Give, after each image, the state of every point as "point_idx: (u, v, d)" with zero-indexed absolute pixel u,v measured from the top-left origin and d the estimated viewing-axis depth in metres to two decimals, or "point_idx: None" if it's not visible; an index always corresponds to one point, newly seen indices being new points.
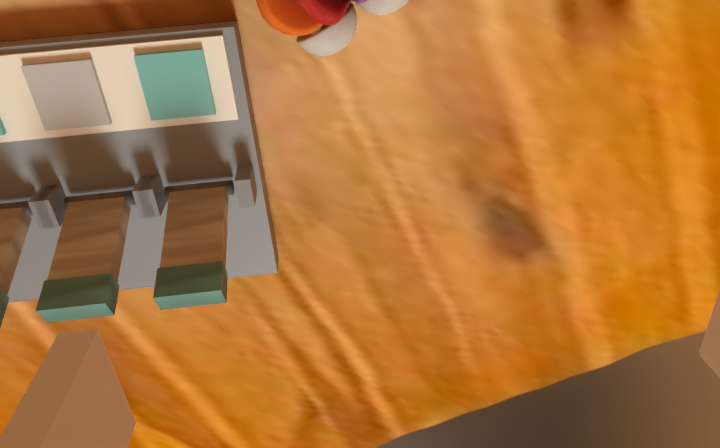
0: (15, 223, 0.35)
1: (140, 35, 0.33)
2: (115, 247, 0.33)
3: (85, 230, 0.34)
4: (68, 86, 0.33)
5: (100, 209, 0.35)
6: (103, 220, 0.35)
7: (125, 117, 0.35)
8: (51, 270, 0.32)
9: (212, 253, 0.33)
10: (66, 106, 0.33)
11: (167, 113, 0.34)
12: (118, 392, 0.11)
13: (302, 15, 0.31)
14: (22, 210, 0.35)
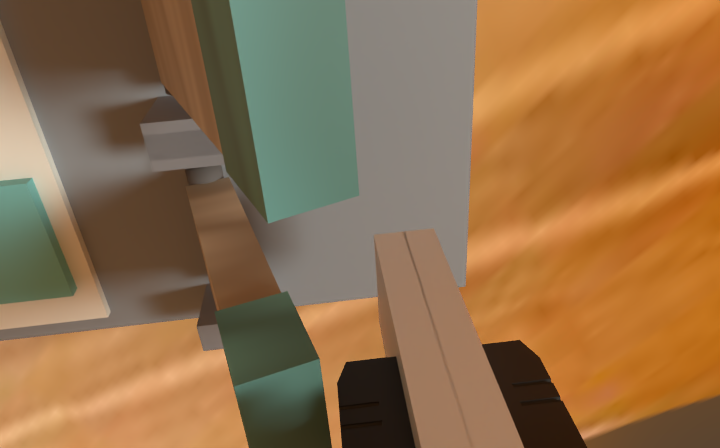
0: (192, 210, 0.14)
1: None
2: None
3: (165, 32, 0.11)
4: None
5: None
6: None
7: None
8: (217, 144, 0.09)
9: None
10: None
11: None
12: None
13: None
14: (191, 188, 0.15)
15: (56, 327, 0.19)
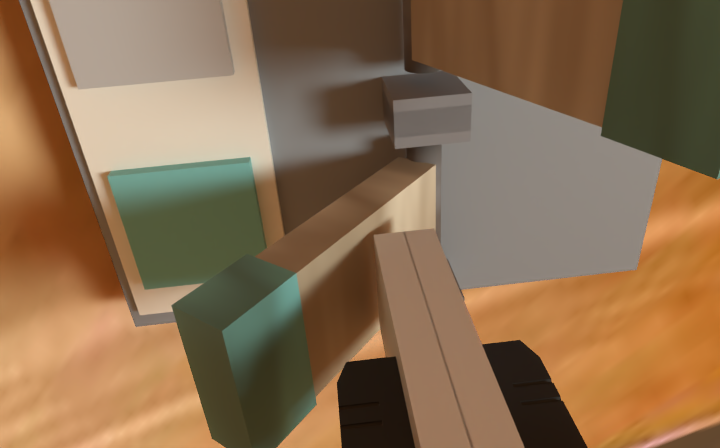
0: (374, 177, 0.15)
1: None
2: None
3: (476, 4, 0.11)
4: None
5: None
6: None
7: None
8: (573, 110, 0.10)
9: None
10: (162, 8, 0.13)
11: None
12: None
13: None
14: (399, 159, 0.16)
15: None
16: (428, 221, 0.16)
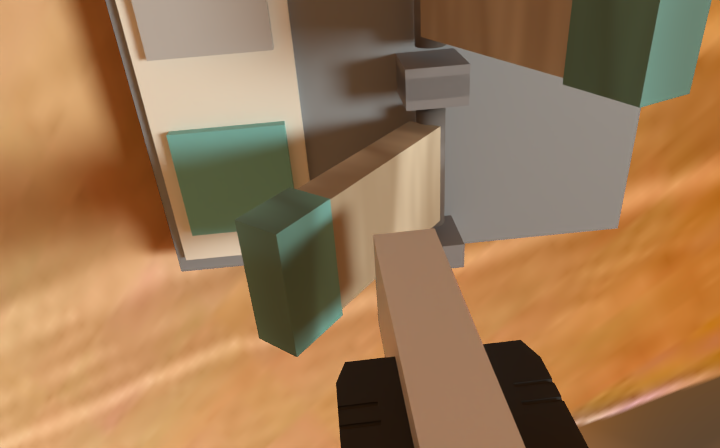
0: (388, 136, 0.18)
1: None
2: None
3: None
4: None
5: None
6: None
7: None
8: (543, 67, 0.13)
9: None
10: None
11: None
12: None
13: None
14: (409, 123, 0.19)
15: None
16: (434, 175, 0.19)
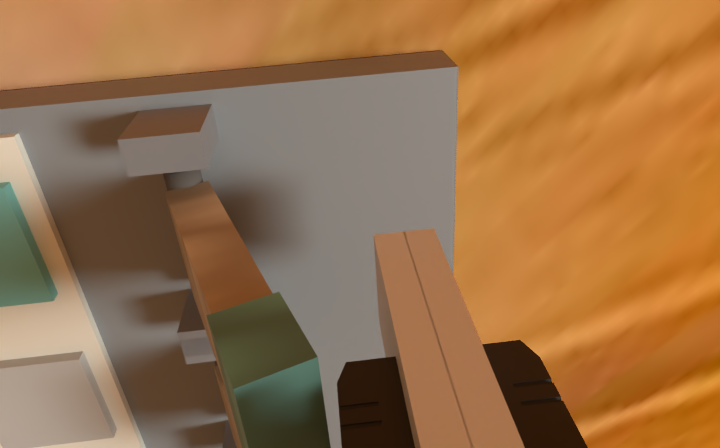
0: None
1: None
2: None
3: None
4: (20, 403, 0.19)
5: (229, 414, 0.18)
6: (235, 427, 0.17)
7: (67, 332, 0.18)
8: None
9: None
10: (59, 409, 0.20)
11: (28, 273, 0.17)
12: None
13: None
14: None
15: None
16: None
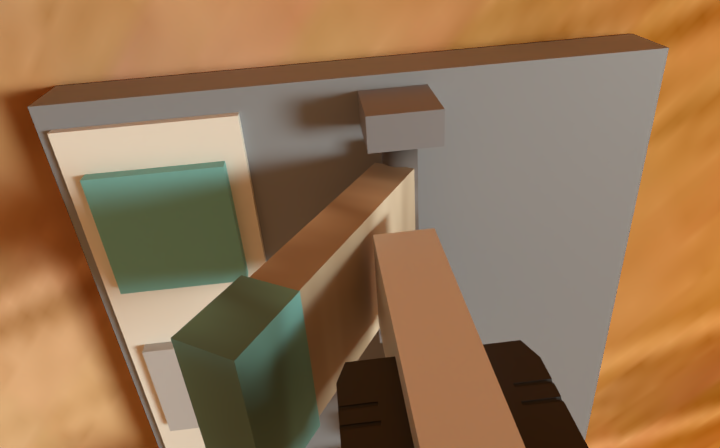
0: None
1: (93, 270, 0.18)
2: None
3: None
4: None
5: None
6: None
7: None
8: None
9: None
10: None
11: (229, 252, 0.17)
12: None
13: None
14: None
15: None
16: None
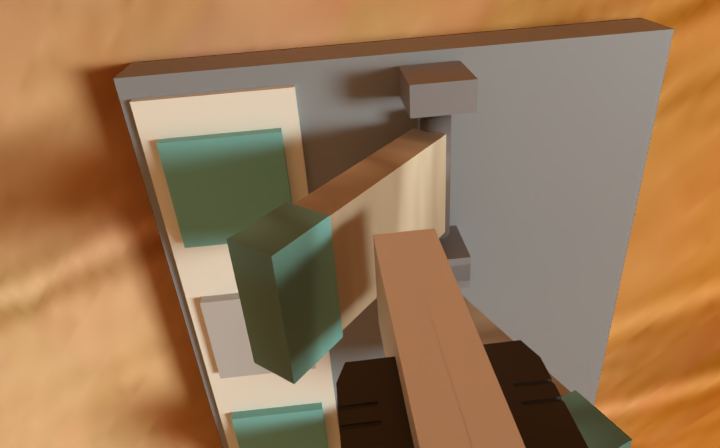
0: None
1: (159, 228, 0.20)
2: None
3: None
4: (245, 333, 0.22)
5: None
6: None
7: None
8: None
9: None
10: None
11: None
12: None
13: None
14: None
15: None
16: None
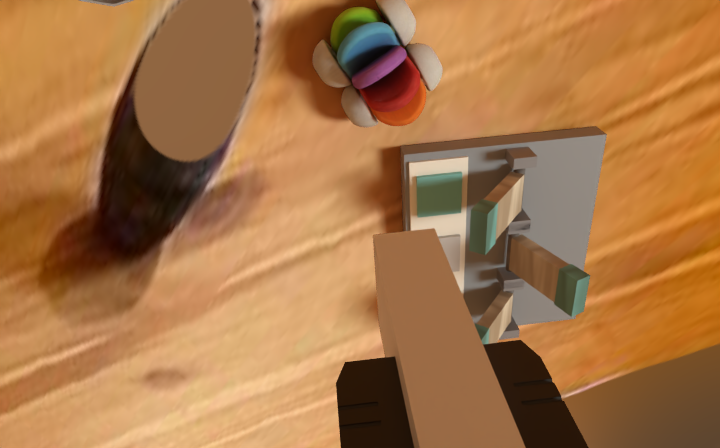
0: (496, 297, 0.54)
1: (405, 210, 0.50)
2: (543, 257, 0.48)
3: (528, 268, 0.50)
4: None
5: (517, 254, 0.51)
6: (524, 256, 0.50)
7: (457, 226, 0.51)
8: (549, 297, 0.49)
9: None
10: None
11: (457, 202, 0.50)
12: None
13: None
14: (502, 291, 0.55)
15: None
16: (510, 308, 0.55)
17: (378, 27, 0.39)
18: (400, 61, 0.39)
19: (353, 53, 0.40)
